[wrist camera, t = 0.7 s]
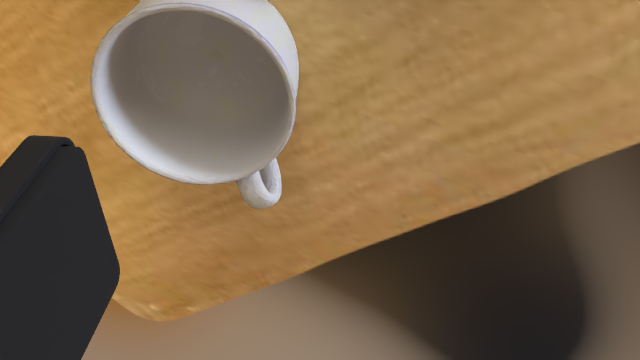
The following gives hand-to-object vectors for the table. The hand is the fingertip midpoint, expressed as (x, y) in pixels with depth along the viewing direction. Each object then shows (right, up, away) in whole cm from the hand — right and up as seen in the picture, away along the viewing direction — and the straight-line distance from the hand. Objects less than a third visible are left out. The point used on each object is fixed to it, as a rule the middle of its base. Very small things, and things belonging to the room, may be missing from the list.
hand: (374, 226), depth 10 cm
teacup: (-6, +8, +29) cm, 31 cm away
